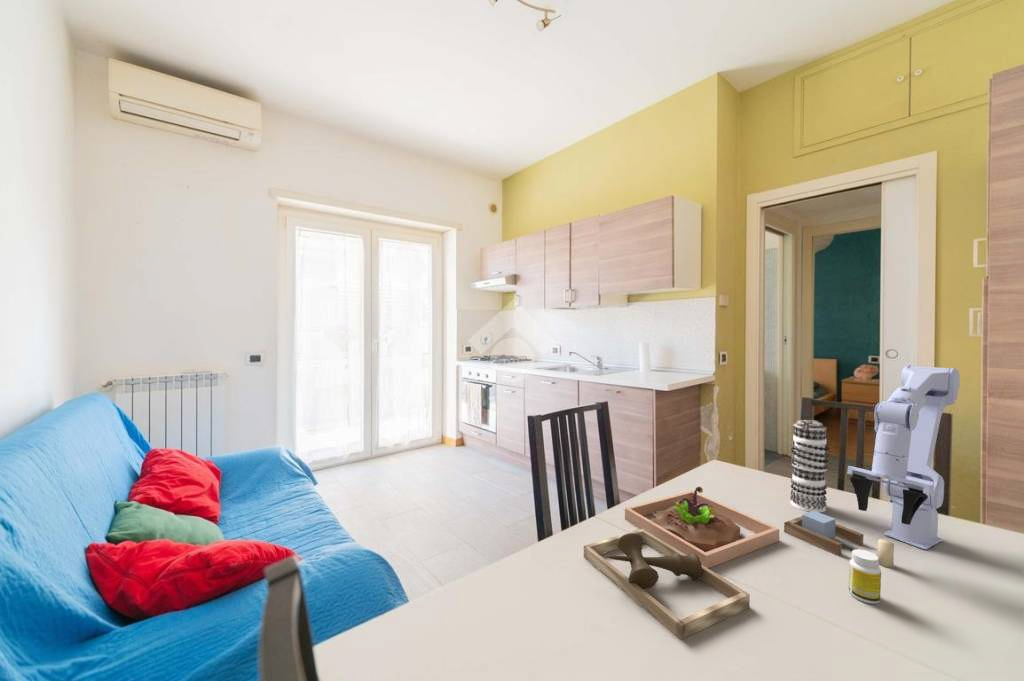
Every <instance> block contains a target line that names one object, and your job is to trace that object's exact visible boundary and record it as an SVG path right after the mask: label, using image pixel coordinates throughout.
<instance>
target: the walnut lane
mask: <svg viewBox="0 0 1024 681" xmlns="http://www.w3.org/2000/svg"><path fill="white" fill-rule="evenodd" d="M783 532H784V533H785V534H787V535H790V536H793V537H795V538H796V539H798V540H801V541H803V542H806V543H808V544H811V545H813V546H815V547H817V548H820V549H822V550H824V551H827V552H829V553H832V554H833V555H836V556H840V555H842V553H843V552H842V551H843V549H842V548H843V547H842V543H843V542H842V543H839V542H840V541H839V542H837V541H838V540H837V541H834V540H832V539H830V538H827V537H825V536H822V535H820V534H818V533H815V532H813V531H810V530H808V529H805V528H803V527H802V515H801V516H798V517H796V518H793V519H790V520H787V521H784V523H783ZM835 537H837V538H839V539H842V540H844V541H847V542H850V543H852V544H855V545H857V546H859V547H861V546H862V544H863V545H864V533H862V532H859V531H856V530H855V529H851V528H849V527H846V526H844V525H840V524H838V523H837V522H836V523H835Z"/></svg>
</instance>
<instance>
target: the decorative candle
mask: <svg viewBox="0 0 1024 681" xmlns="http://www.w3.org/2000/svg"><path fill="white" fill-rule="evenodd" d="M792 426H793V428H794V429H793V430H794V431H793V437H792V439H793V440H792V441H791V442H790V452H791V453H792V454H791V455H790V459H791V460H790V461H791V462H790V464H791V466H793V470H792V471H793V472H792V478H791V480H790V482H791V484H790V488H791V489H790V494H791V495H790V496H789V497H790V504H791V505H792V506H793V507H794V508H796V509H799V510H802V511H804V512H811V511H816V512H819V513H824V512H826V511H827V508H826V507H827V502H826V501H827V496H826V495H827V494H828V493H827V489H828V486H827V485H826V471H827V470H828V466H827V465H826V464H827V463H829V460H828V459H827V458H829V454H828V453H826V452H827V451H830V448H829V445H830V441H827V438H826V437H827V430H828V428H827V426H824V424H823V423H822V422H820V421H818V420H813V419H799V420H797V421H796V422H795V423H793V424H792Z"/></svg>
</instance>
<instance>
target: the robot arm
mask: <svg viewBox="0 0 1024 681" xmlns="http://www.w3.org/2000/svg"><path fill="white" fill-rule="evenodd" d="M900 375H901V379H900V380H901V384H902V386H900V387H898V388H896V389H895V390H894V391H893V392H892V394H891V395H890V396H889V398H888V399H887V400H885V401H884V400H883V401H881V402H877V404H876V405H875V407H874V411H873V412H874V413H873V414H874V415H873V416H874V417H873V419H874V432H876V433H875V434H876V436H875V442H874V443H875V444H874V452H873V458H872V466H871V470H868V469H866V468H865V469H864V468H860V467H855V466H851V465H847V473H846V474H847V475H851V476H849V480H850V483H851V485H852V486H853V490H854V492H855V493H854V494H855V496H856V499H857V505H858V506H857V508H858V510H859V511H861V512H862V511H863V512H867V511H868V510H867V509H868V506H869V495H870V492H871V489H872V486H873V483H874V482H875V481H877V482H879V483H883V490H884V494H886V495H887V497H890V498H889V500H890V501H891V502H892V509H891V510H892V514H891V516H892V517H891V529H888V530H887V531H885V532H883V534H884V536H886V537H889V538H892V539H895V540H897V541H899V542H904V543H906V544H908V545H911V546H913V547H916V548H920V549H922V550H928V549H930V548H931V547H933V546H935V545H937V544H940V543H941V542H943V541H944V540H943V538H942V537H939V536H938V530H939V529H938V528H939V514H938V510H937V509H939V508H940V507H941V506H942V505H943V502H944V495H945V480H944V478H943V476H942V475H940V474H939V473H938V472H937V471H936V470H934V469H933V467H932V463H933V457H934V453H935V448H936V443H937V438H938V434H939V428H940V424H941V420H942V419H941V418H942V415H943V413H944V411H945V408H946V407H948V406H951V405H955V403H956V400H957V399H958V394H959V391H960V389H959V388H960V384H961V383H960V382H961V376H960V375H961V374H960V371H959V370H958V369H957V368H956V367H948V368H947V367H934V366H921V365H911V364H908V365H906V366H904V367H903V368H902V371H901V374H900ZM879 478H881V479H879ZM883 479H884V480H883Z"/></svg>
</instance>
